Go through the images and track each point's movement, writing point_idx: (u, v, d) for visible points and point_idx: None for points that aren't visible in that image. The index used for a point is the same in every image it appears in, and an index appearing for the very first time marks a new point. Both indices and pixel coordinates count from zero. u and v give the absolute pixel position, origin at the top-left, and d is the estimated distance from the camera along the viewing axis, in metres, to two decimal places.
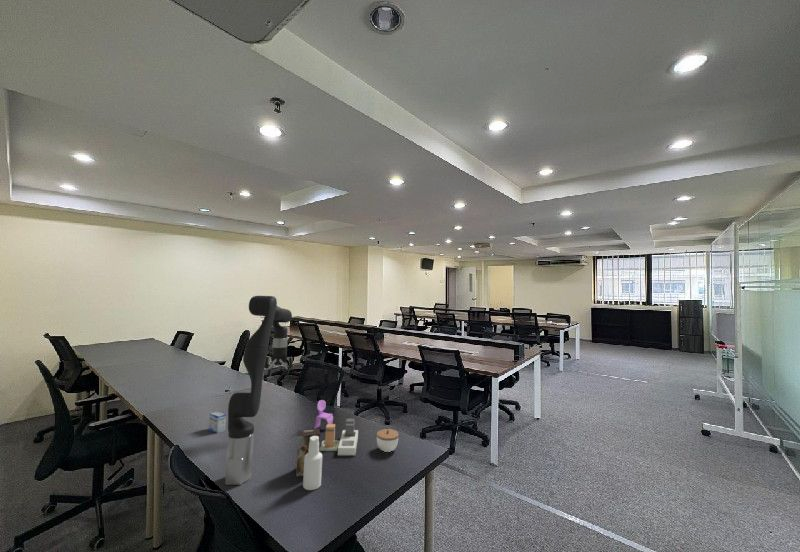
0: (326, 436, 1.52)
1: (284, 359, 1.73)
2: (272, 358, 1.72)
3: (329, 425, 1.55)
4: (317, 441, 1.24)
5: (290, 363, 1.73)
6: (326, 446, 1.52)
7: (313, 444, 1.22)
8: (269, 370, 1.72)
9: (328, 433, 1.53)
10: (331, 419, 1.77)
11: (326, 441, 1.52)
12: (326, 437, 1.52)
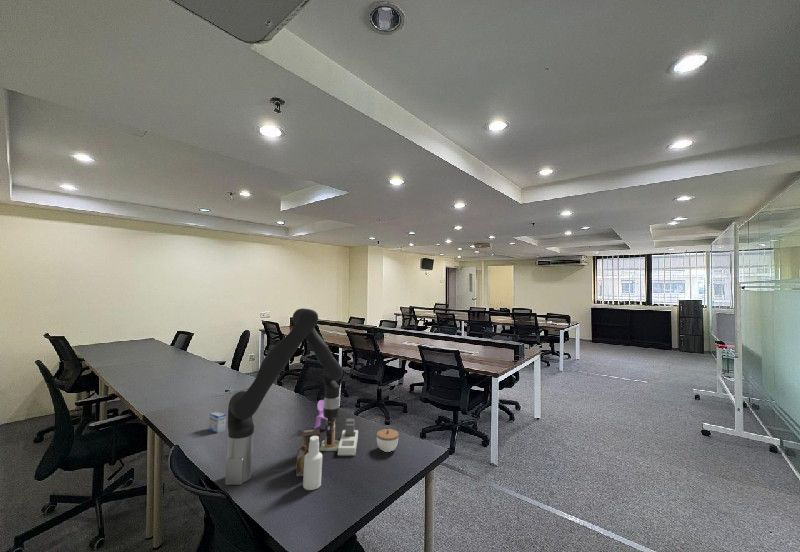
0: None
1: None
2: (332, 422, 1.52)
3: None
4: (317, 441, 1.24)
5: None
6: (326, 446, 1.52)
7: (313, 444, 1.22)
8: (331, 437, 1.52)
9: (328, 433, 1.53)
10: None
11: (326, 441, 1.52)
12: (326, 437, 1.52)
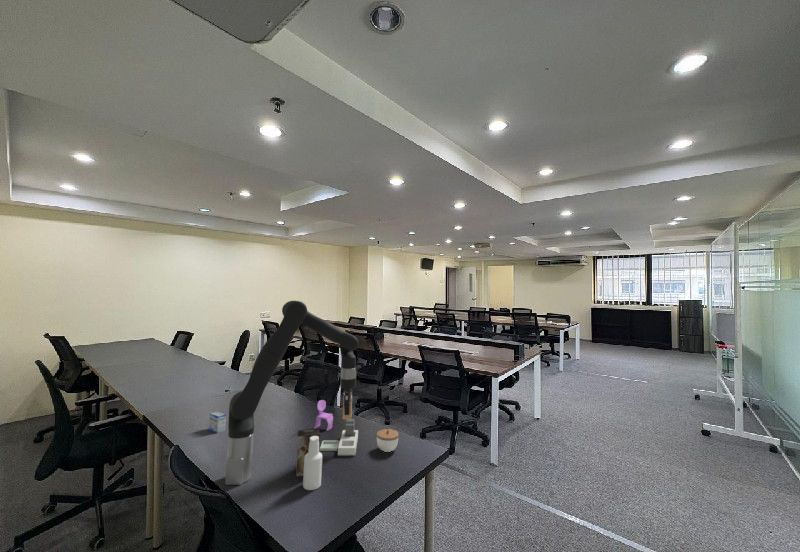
0: (344, 407, 1.51)
1: None
2: (349, 392, 1.50)
3: None
4: (317, 441, 1.24)
5: None
6: (344, 416, 1.51)
7: (313, 444, 1.22)
8: None
9: None
10: (331, 419, 1.77)
11: (344, 411, 1.51)
12: (344, 407, 1.51)
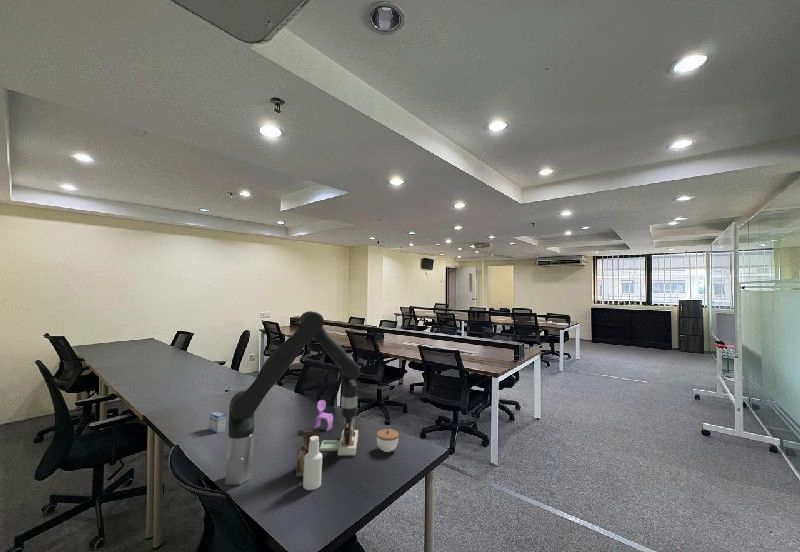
0: (344, 439, 1.49)
1: None
2: (350, 421, 1.49)
3: None
4: (317, 441, 1.24)
5: None
6: None
7: (313, 444, 1.22)
8: (349, 437, 1.47)
9: None
10: (331, 419, 1.77)
11: (344, 444, 1.49)
12: (344, 440, 1.49)
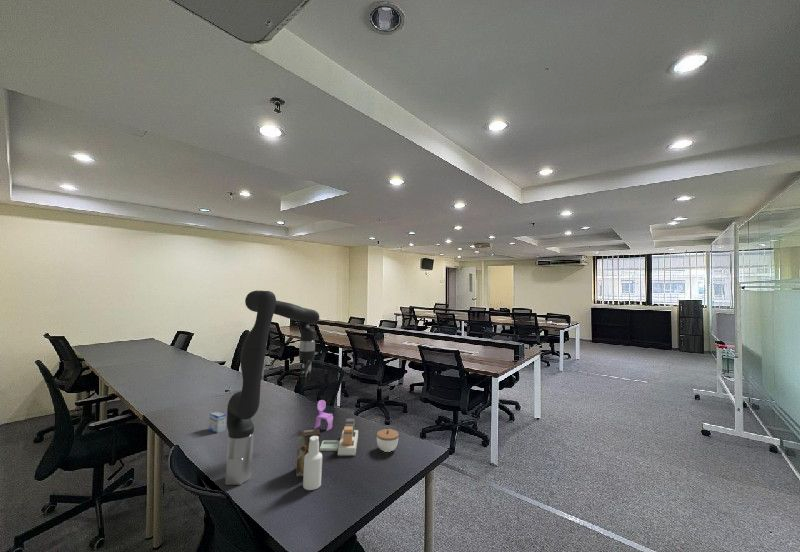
0: (344, 439, 1.49)
1: (309, 362, 1.63)
2: (307, 364, 1.57)
3: (347, 427, 1.52)
4: (317, 441, 1.24)
5: (311, 365, 1.66)
6: None
7: (313, 444, 1.22)
8: (306, 377, 1.55)
9: (346, 436, 1.49)
10: (331, 419, 1.77)
11: (344, 444, 1.49)
12: (344, 440, 1.49)
